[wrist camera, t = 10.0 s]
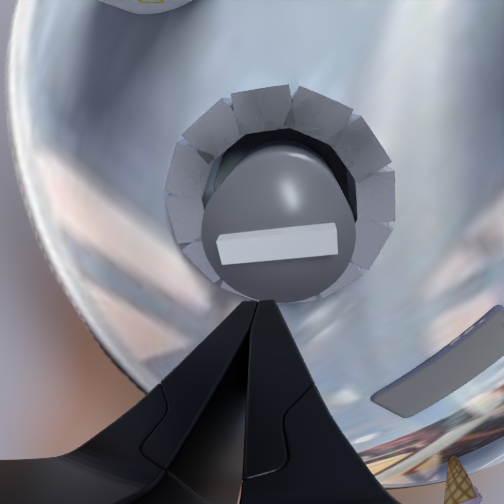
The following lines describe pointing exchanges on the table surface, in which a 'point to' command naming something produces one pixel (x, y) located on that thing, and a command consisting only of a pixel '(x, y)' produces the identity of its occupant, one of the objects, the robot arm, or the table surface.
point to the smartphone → (447, 368)
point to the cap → (279, 225)
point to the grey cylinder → (147, 5)
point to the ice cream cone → (459, 485)
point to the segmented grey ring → (272, 118)
